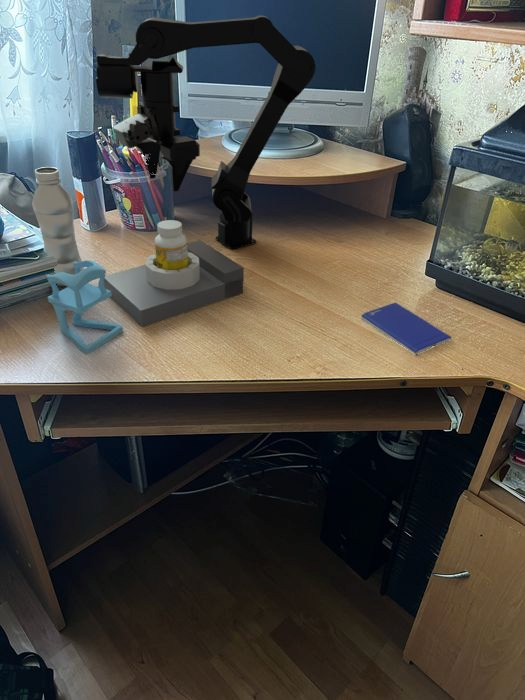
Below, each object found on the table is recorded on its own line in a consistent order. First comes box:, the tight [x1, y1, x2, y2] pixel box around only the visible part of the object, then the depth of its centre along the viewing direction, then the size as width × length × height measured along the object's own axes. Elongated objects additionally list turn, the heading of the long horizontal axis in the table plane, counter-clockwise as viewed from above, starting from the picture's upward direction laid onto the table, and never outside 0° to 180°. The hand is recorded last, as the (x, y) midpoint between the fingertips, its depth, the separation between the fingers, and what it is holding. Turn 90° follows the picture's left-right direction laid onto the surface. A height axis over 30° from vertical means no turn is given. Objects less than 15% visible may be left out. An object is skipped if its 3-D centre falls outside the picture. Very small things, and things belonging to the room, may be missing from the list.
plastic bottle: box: [31, 166, 85, 287], centre depth 93 cm, size 6×7×20 cm
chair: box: [45, 259, 124, 354], centre depth 82 cm, size 8×8×12 cm
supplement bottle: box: [154, 219, 188, 270], centre depth 93 cm, size 5×5×10 cm
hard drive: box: [360, 302, 452, 355], centre depth 90 cm, size 2×8×12 cm
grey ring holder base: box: [104, 239, 245, 328], centre depth 95 cm, size 20×14×6 cm
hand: (163, 184), depth 108 cm, fingers open, 9 cm apart
